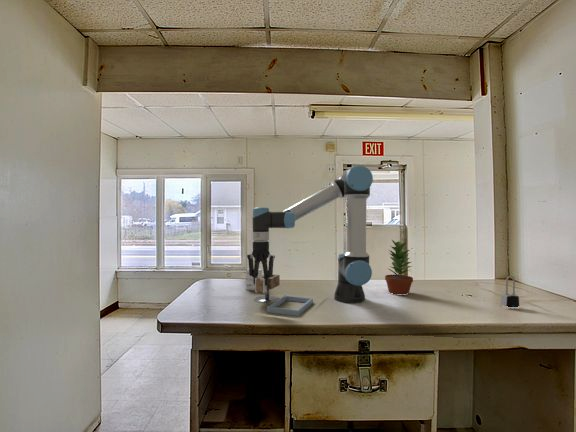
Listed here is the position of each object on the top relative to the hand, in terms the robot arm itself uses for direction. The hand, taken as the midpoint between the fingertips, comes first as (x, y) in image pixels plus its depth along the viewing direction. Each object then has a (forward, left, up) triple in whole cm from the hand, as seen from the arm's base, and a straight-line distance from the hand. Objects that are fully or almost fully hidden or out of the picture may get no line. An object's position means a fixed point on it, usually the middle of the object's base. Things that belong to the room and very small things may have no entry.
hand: (260, 291), depth 144 cm
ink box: (+16, -25, -7) cm, 30 cm away
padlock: (-108, -44, -7) cm, 116 cm away
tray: (-15, -1, -6) cm, 16 cm away
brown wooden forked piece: (0, -6, +1) cm, 6 cm away
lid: (0, -8, -6) cm, 10 cm away
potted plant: (-59, -53, -7) cm, 79 cm away
